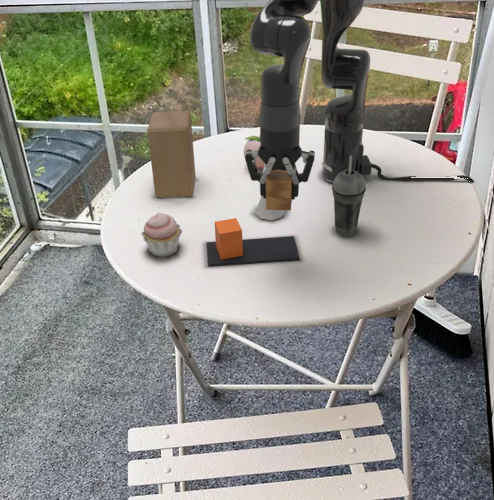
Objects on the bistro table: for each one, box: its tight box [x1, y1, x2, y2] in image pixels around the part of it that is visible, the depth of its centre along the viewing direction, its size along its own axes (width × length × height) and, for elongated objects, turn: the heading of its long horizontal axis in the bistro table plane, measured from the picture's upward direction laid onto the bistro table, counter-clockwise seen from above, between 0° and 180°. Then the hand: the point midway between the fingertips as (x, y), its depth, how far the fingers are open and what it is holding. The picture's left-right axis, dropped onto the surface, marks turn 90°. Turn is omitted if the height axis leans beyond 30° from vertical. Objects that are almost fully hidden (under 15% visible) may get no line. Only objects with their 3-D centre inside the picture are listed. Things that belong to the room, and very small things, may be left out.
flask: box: [254, 195, 287, 221], centre depth 156 cm, size 7×7×10 cm
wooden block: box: [146, 110, 197, 198], centre depth 167 cm, size 10×10×20 cm
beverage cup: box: [331, 155, 367, 238], centre depth 145 cm, size 7×7×20 cm
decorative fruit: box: [243, 135, 265, 169], centre depth 174 cm, size 9×8×10 cm
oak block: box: [266, 170, 293, 211], centre depth 134 cm, size 5×5×7 cm
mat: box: [206, 235, 301, 267], centre depth 147 cm, size 20×8×1 cm, turn 90°
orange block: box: [214, 217, 243, 260], centre depth 145 cm, size 5×5×7 cm
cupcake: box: [140, 211, 183, 258], centre depth 148 cm, size 9×9×10 cm
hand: (279, 196), depth 135 cm, fingers closed on oak block, 5 cm apart
